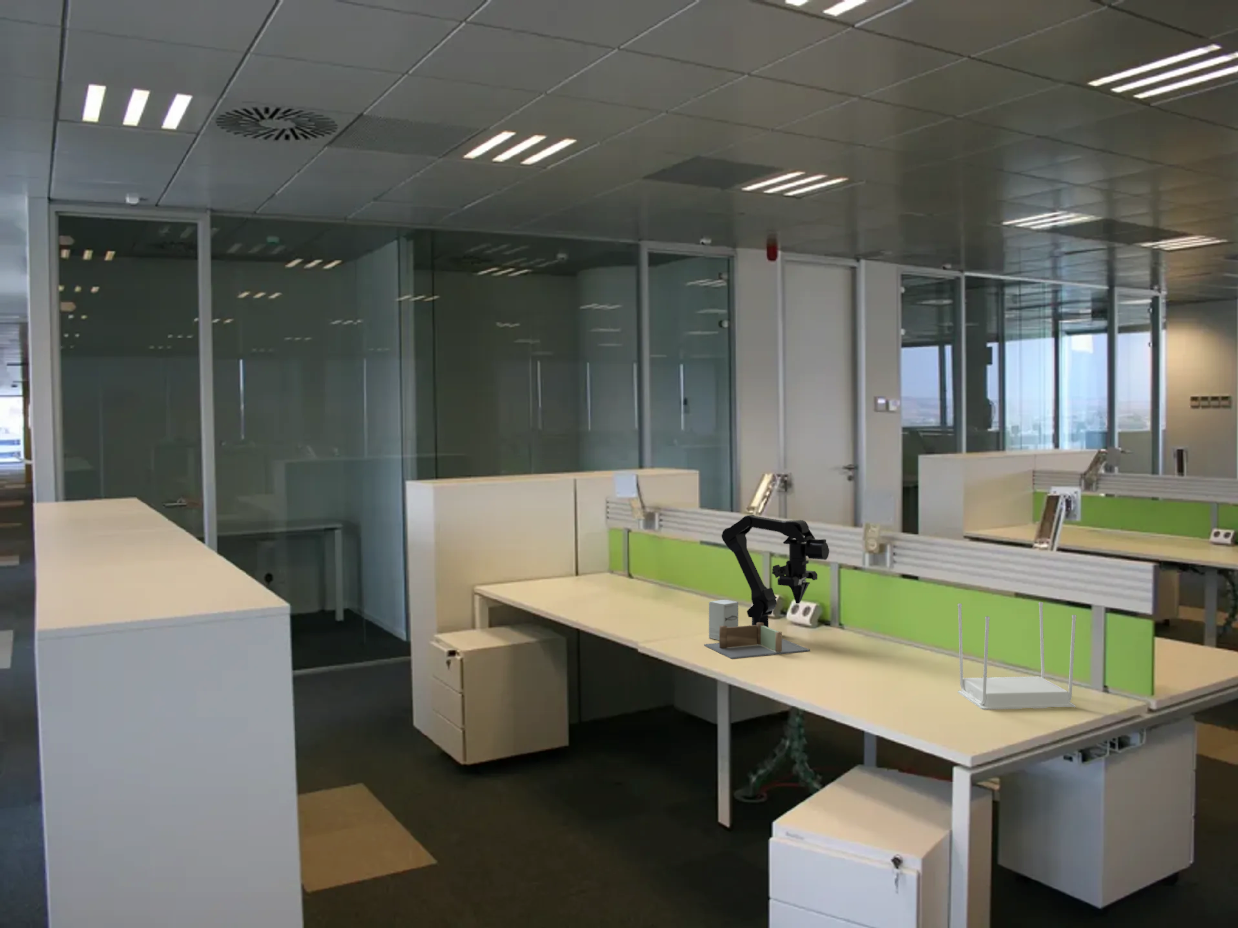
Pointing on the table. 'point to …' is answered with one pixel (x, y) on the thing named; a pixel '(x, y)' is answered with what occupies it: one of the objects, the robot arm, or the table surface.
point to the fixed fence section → (740, 635)
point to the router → (1015, 681)
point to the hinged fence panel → (771, 638)
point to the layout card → (756, 650)
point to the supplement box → (722, 616)
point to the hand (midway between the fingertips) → (797, 603)
